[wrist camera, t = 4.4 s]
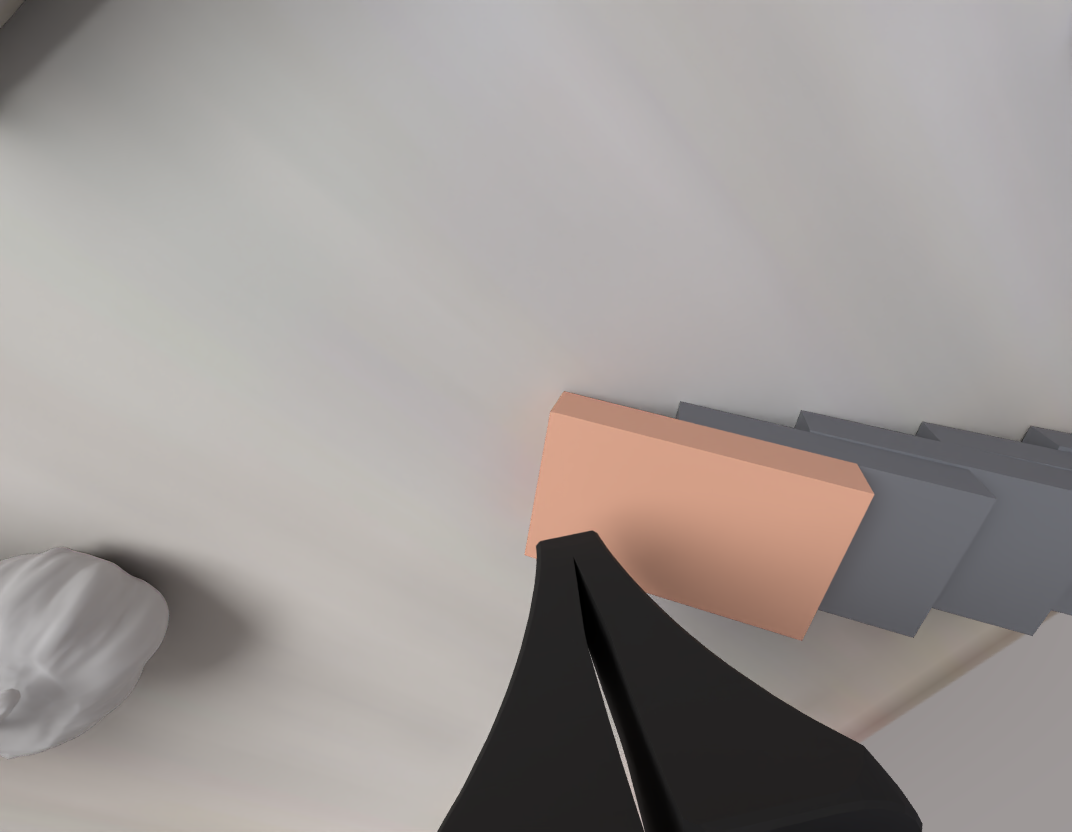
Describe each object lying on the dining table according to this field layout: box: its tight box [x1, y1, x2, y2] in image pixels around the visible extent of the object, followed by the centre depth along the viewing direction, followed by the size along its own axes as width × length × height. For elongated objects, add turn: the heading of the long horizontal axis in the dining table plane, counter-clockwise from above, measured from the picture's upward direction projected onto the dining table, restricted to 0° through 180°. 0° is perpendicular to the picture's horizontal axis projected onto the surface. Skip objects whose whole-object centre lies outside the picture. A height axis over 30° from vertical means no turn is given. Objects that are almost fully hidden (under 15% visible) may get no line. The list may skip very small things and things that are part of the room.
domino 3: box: [794, 410, 1072, 636], centre depth 17 cm, size 2×5×8 cm
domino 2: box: [675, 402, 997, 638], centre depth 16 cm, size 2×5×8 cm
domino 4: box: [916, 422, 1072, 615], centre depth 17 cm, size 2×5×8 cm
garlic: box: [0, 547, 169, 759], centre depth 14 cm, size 6×5×5 cm
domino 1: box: [525, 391, 874, 641], centre depth 15 cm, size 2×5×8 cm
